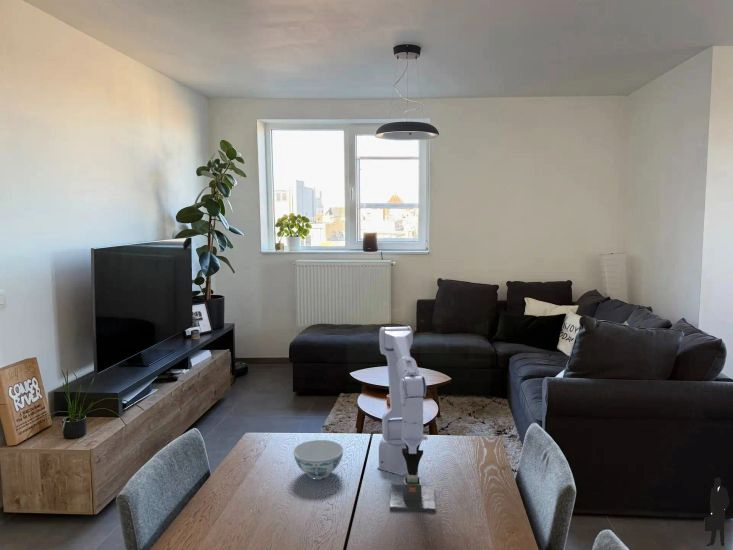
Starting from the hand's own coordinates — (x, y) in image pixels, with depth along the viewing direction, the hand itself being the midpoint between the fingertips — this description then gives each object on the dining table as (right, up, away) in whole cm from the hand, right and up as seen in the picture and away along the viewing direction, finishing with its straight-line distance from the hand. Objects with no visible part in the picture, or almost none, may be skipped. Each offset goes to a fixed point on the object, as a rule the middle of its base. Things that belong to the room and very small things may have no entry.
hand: (412, 468), depth 144 cm
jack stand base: (0, -9, +1) cm, 9 cm away
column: (0, -5, 0) cm, 5 cm away
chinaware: (-27, -8, +16) cm, 32 cm away
